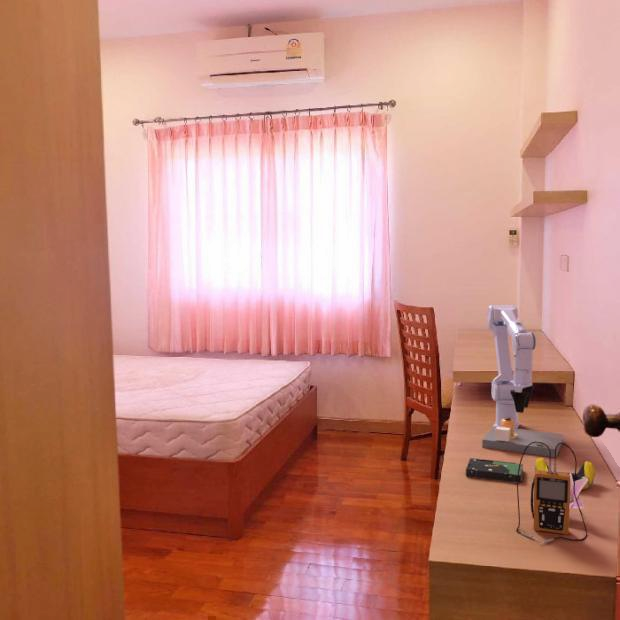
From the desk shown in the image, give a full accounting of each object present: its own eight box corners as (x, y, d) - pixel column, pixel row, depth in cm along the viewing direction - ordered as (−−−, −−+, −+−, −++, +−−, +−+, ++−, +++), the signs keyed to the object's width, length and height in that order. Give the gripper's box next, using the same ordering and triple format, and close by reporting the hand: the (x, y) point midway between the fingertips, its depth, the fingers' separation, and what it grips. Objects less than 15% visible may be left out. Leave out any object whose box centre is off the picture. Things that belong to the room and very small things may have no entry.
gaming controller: (534, 474, 171) (536, 487, 161) (534, 455, 170) (537, 467, 161) (592, 480, 166) (598, 493, 157) (593, 460, 166) (599, 472, 156)
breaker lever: (497, 437, 196) (497, 426, 196) (510, 439, 194) (510, 428, 194) (495, 439, 193) (495, 428, 193) (508, 441, 191) (508, 430, 191)
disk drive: (465, 479, 169) (522, 484, 164) (465, 469, 169) (522, 474, 164) (469, 467, 179) (523, 472, 174) (469, 457, 179) (523, 462, 174)
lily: (547, 506, 152) (533, 476, 149) (596, 493, 148) (582, 462, 145) (556, 541, 141) (540, 509, 138) (608, 528, 137) (594, 495, 134)
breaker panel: (494, 432, 211) (494, 422, 211) (562, 441, 200) (563, 430, 200) (482, 447, 195) (482, 435, 195) (555, 457, 185) (556, 445, 184)
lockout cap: (504, 432, 202) (504, 415, 202) (515, 434, 200) (516, 418, 199) (498, 435, 199) (499, 418, 199) (510, 437, 197) (511, 420, 196)
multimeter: (514, 542, 130) (516, 450, 128) (516, 523, 139) (518, 437, 138) (590, 553, 125) (593, 458, 123) (586, 533, 134) (589, 444, 133)
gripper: (514, 364, 209) (513, 403, 210) (505, 371, 196) (504, 413, 197) (536, 366, 205) (535, 405, 206) (528, 373, 193) (527, 415, 194)
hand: (521, 409), depth 201 cm, fingers open, 7 cm apart
